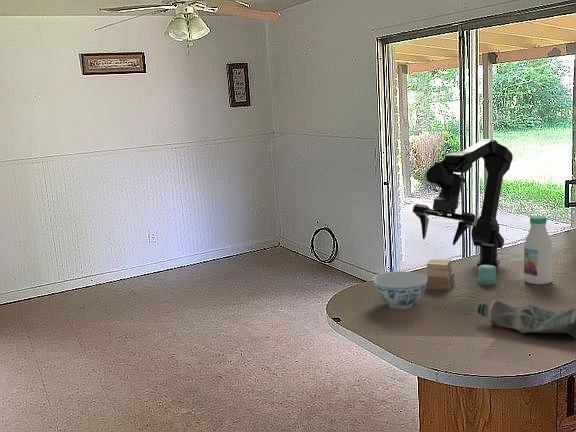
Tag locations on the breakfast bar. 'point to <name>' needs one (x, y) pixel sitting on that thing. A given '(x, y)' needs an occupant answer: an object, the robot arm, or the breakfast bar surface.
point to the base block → (440, 282)
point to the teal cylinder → (486, 274)
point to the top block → (439, 268)
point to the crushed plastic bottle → (530, 318)
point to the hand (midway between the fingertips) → (438, 242)
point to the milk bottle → (538, 253)
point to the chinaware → (400, 288)
